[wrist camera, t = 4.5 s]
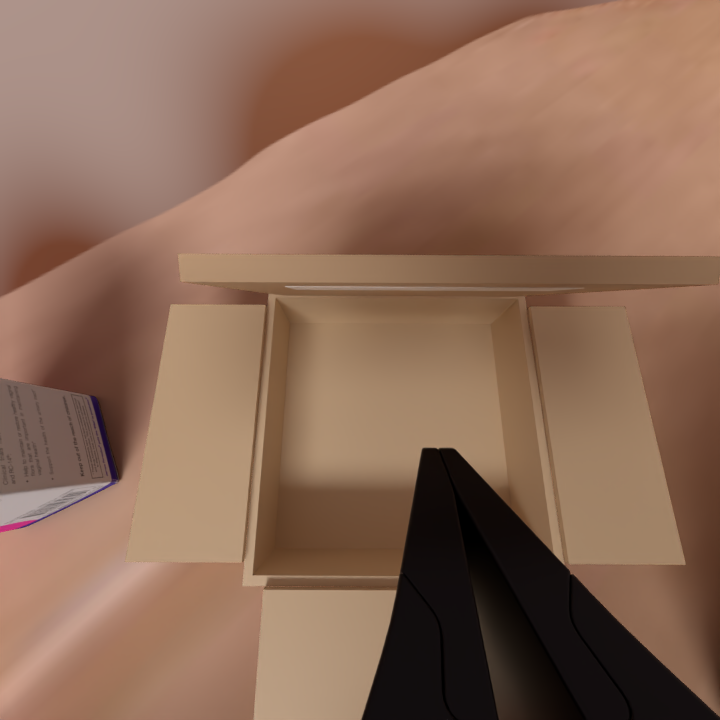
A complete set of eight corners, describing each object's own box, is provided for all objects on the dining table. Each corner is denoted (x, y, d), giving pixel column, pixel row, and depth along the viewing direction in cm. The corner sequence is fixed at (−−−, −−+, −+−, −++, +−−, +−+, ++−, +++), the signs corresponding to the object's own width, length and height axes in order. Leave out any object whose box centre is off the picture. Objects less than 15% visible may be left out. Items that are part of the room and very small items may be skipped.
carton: (631, 666, 16) (728, 745, 12) (162, 664, 16) (92, 742, 12) (568, 320, 21) (621, 289, 17) (210, 318, 21) (173, 287, 17)
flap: (513, 297, 16) (717, 285, 7) (283, 296, 16) (180, 282, 7) (514, 284, 16) (723, 255, 7) (282, 283, 16) (177, 252, 7)
